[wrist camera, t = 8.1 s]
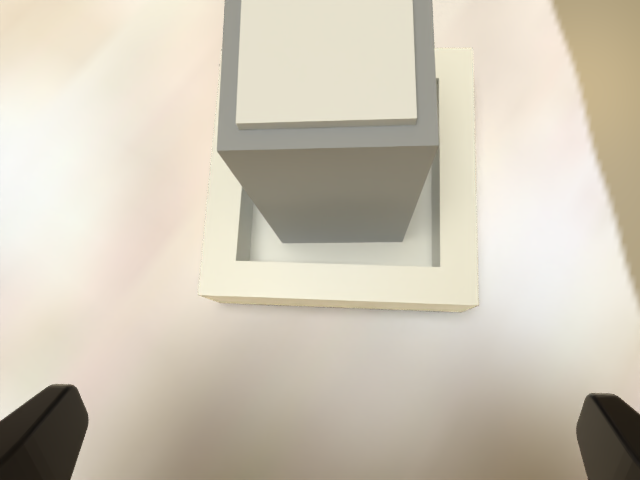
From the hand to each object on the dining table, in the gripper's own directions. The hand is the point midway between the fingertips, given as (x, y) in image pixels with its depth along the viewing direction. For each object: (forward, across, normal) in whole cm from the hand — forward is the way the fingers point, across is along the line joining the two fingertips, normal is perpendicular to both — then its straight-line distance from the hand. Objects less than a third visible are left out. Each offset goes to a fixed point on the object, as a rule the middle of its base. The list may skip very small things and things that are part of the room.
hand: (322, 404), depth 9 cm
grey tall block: (+12, 0, +1) cm, 12 cm away
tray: (+12, 0, +2) cm, 12 cm away
